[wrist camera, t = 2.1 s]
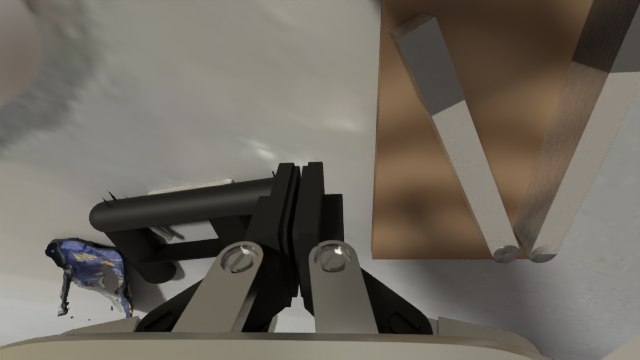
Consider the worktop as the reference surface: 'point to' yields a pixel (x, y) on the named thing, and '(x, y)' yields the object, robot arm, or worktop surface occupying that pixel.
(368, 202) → the worktop surface
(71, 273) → the snack package
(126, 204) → the black submachine gun
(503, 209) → the tongs arm
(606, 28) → the arm
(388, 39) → the cutting board
